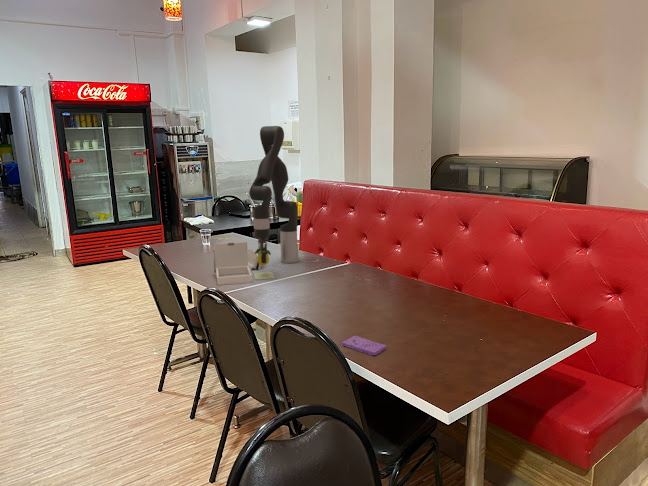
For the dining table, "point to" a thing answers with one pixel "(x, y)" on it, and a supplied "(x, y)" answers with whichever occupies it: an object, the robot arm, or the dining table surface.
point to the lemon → (260, 257)
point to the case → (231, 263)
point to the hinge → (253, 259)
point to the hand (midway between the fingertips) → (263, 261)
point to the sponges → (364, 345)
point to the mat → (263, 275)
